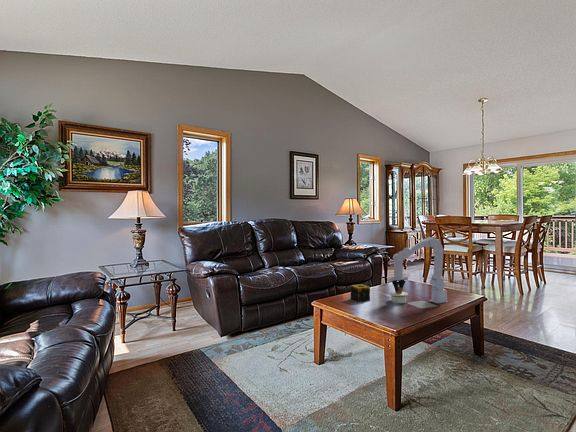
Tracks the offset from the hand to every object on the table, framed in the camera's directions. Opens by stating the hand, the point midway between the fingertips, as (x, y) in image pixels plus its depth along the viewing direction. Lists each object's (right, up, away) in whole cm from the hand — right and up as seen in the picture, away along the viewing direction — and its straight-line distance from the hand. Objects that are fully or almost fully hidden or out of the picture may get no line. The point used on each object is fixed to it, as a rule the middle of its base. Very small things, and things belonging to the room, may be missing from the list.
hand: (398, 291), depth 220 cm
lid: (0, -2, 0) cm, 2 cm away
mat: (+13, -7, -8) cm, 17 cm away
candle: (-25, -8, +7) cm, 27 cm away
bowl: (0, -8, 0) cm, 8 cm away
